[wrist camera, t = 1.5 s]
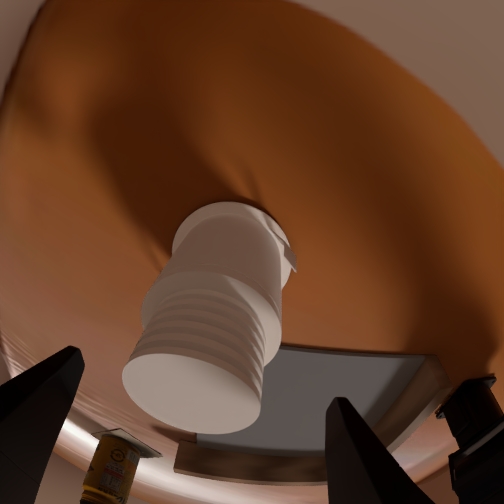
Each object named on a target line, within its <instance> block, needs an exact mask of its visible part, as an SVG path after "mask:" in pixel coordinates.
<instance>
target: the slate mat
mask: <svg viewBox="0 0 504 504" xmlns="http://www.w3.org/2000/svg"><path fill="white" fill-rule="evenodd" d="M424 360H425V357H424V355H391V354H369V353H353V352H339V351H327V350H317V349H307V348H298V347H289V346H281V345H280V346H279V349H278V351H277V353H276V355H275V356H274V358H273V359H272V360H271V361H270V362H269V363H268V364H267V365H266V366H264V369H263V383H262V396H261V408H260V414H259V416H258V418H257V419H256V421H255V422H254V423H253V424H251V425H250V426H248V427H247V428H245V429H242V430H240V431H236V432H232V433H226V434H203V433H197V446H198V447H204V448H210V449H216V450H222V451H229V452H237V453H246V454H256V455H269V456H287V457H325V416H326V410H327V408H328V407H329V405H330V403H331V402H332V400H333V399H334V398H335V397H346V398H347V399H348V400H349V401H350V402H351V404H352V405H353V406H354V407H355V409H356V410H357V411H358V413H359V414H360V415H361V417H362V418H363V419H364V420H365V422H366V423H367V424H368V426H369V427H370V428H371V429H372V428H373V427H374V426H375V424H376V423H377V422H378V421H379V420H380V419H381V417H382V416H383V415H384V414H385V413H386V411H387V410H388V409H389V408H390V406H391V405H392V404H393V403H394V401H395V400H396V399H397V398H398V396H399V395H400V394H401V392H402V391H403V390H404V388H405V387H406V386H407V384H408V383H409V381H410V380H411V379H412V377H413V376H414V374H415V373H416V372H417V370H418V369H419V367H420V366H421V364H422V363H423V361H424Z"/></svg>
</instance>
